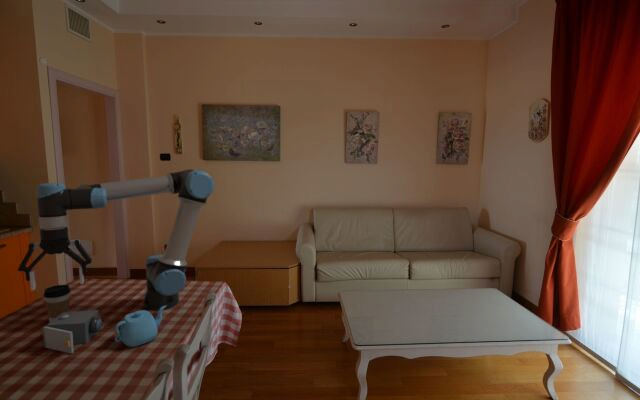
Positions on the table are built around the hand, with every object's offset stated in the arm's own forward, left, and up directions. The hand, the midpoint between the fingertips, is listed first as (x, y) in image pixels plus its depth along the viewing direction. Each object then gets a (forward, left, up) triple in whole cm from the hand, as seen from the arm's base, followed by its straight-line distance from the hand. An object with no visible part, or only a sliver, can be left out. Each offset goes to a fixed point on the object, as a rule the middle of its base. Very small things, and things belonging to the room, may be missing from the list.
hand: (58, 286), depth 114 cm
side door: (-2, +6, -21) cm, 22 cm away
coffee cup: (+9, -15, -22) cm, 28 cm away
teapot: (-27, +1, -22) cm, 35 cm away
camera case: (-4, -2, -21) cm, 22 cm away
